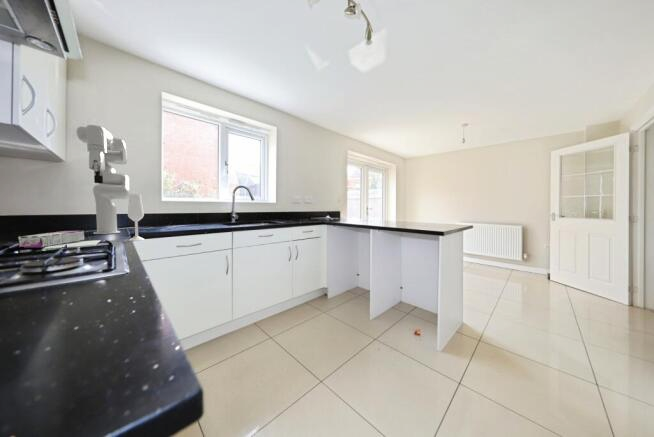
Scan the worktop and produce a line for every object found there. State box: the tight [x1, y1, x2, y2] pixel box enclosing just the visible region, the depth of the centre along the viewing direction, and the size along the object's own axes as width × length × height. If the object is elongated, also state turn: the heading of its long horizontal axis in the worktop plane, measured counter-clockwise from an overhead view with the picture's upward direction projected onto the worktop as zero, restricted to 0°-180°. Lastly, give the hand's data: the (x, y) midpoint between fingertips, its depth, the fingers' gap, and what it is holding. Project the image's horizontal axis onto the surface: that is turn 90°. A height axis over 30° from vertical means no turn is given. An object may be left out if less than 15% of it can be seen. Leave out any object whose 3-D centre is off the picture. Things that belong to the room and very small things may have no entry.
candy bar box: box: [17, 230, 86, 248], centre depth 106 cm, size 11×5×16 cm
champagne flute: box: [127, 193, 145, 242], centre depth 123 cm, size 7×7×24 cm
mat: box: [42, 239, 101, 250], centre depth 107 cm, size 18×15×1 cm
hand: (98, 183), depth 128 cm, fingers closed
